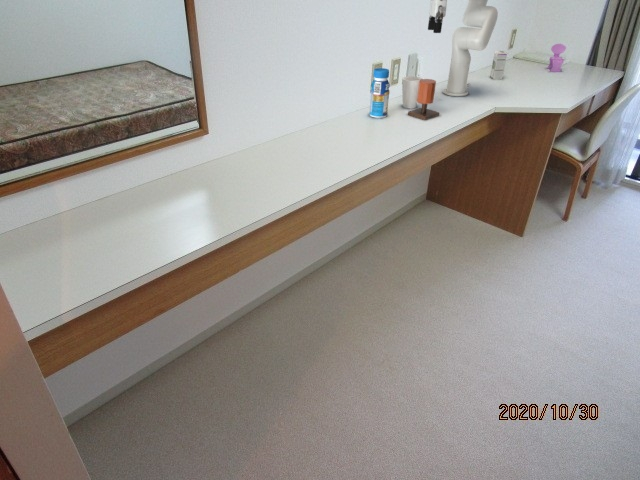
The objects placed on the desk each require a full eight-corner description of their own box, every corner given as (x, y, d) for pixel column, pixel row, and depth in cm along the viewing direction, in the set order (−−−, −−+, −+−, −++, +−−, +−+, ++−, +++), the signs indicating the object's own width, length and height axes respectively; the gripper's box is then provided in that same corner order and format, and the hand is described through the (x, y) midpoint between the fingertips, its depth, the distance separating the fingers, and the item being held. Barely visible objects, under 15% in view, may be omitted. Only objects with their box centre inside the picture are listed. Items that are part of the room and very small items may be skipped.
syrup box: (502, 79, 262) (508, 52, 254) (492, 79, 262) (497, 52, 254) (499, 76, 267) (504, 50, 259) (489, 76, 267) (494, 50, 259)
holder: (421, 110, 211) (425, 78, 203) (439, 115, 205) (443, 82, 197) (407, 114, 206) (411, 82, 198) (424, 120, 200) (429, 86, 192)
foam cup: (419, 110, 212) (422, 81, 205) (399, 108, 214) (401, 80, 207) (419, 104, 220) (422, 76, 213) (400, 103, 221) (402, 75, 214)
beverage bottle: (365, 113, 207) (368, 68, 196) (381, 111, 210) (385, 66, 199) (374, 119, 201) (377, 72, 190) (391, 116, 203) (395, 70, 193)
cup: (423, 98, 206) (426, 78, 201) (436, 101, 202) (439, 81, 197) (413, 101, 202) (415, 80, 198) (426, 104, 198) (428, 83, 193)
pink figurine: (548, 71, 277) (555, 45, 269) (544, 68, 285) (551, 43, 277) (562, 72, 276) (569, 46, 268) (558, 69, 284) (565, 43, 275)
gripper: (454, -13, 181) (448, 34, 190) (443, -15, 196) (437, 28, 205) (436, -13, 181) (430, 34, 190) (426, -15, 195) (421, 28, 204)
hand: (434, 31), depth 197 cm, fingers open, 9 cm apart
